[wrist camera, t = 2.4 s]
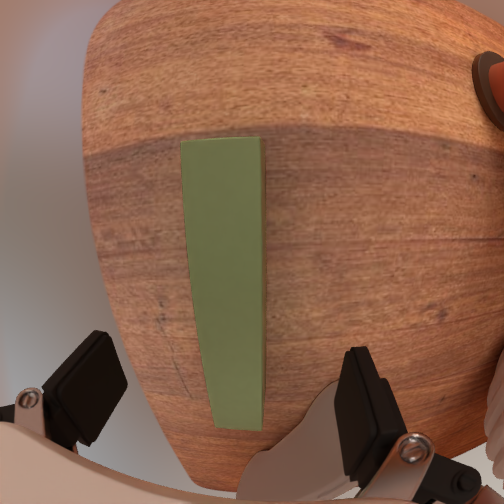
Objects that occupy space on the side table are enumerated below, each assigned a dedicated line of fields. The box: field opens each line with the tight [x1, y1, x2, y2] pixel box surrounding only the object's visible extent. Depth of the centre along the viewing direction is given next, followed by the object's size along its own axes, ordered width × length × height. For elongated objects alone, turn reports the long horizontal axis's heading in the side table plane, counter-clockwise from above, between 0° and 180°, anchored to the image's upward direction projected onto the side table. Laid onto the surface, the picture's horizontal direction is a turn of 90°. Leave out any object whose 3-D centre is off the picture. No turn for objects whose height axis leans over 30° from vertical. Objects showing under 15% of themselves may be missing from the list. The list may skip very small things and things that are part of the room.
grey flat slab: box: [236, 380, 358, 502], centre depth 16 cm, size 20×2×8 cm, turn 156°
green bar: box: [180, 136, 266, 431], centre depth 14 cm, size 3×16×4 cm, turn 1°
